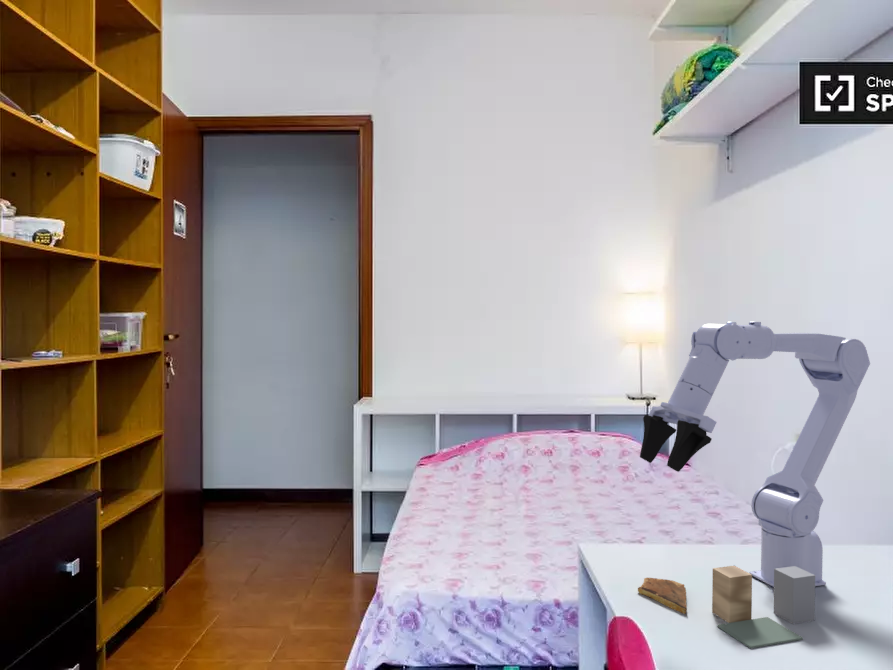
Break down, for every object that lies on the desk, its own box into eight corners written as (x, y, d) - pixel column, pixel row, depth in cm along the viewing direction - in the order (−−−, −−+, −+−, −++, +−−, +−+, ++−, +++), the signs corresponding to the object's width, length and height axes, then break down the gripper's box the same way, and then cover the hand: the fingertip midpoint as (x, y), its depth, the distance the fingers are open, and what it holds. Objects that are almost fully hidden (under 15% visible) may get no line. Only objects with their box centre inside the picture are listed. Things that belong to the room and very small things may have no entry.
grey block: (794, 609, 110) (795, 565, 110) (814, 620, 106) (815, 575, 106) (773, 613, 109) (774, 568, 109) (793, 624, 105) (793, 578, 105)
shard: (686, 618, 108) (686, 607, 108) (635, 612, 111) (635, 600, 110) (685, 591, 118) (685, 581, 118) (638, 586, 121) (639, 575, 121)
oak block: (733, 609, 110) (734, 565, 110) (751, 620, 107) (752, 574, 106) (712, 612, 109) (712, 568, 109) (729, 623, 105) (729, 577, 105)
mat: (767, 618, 107) (767, 616, 107) (802, 639, 100) (802, 637, 100) (717, 626, 104) (717, 624, 104) (750, 648, 97) (750, 646, 97)
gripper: (650, 375, 120) (615, 445, 118) (705, 381, 106) (666, 461, 104) (681, 394, 122) (647, 464, 120) (738, 403, 108) (701, 482, 106)
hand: (658, 464), depth 112 cm, fingers open, 7 cm apart
